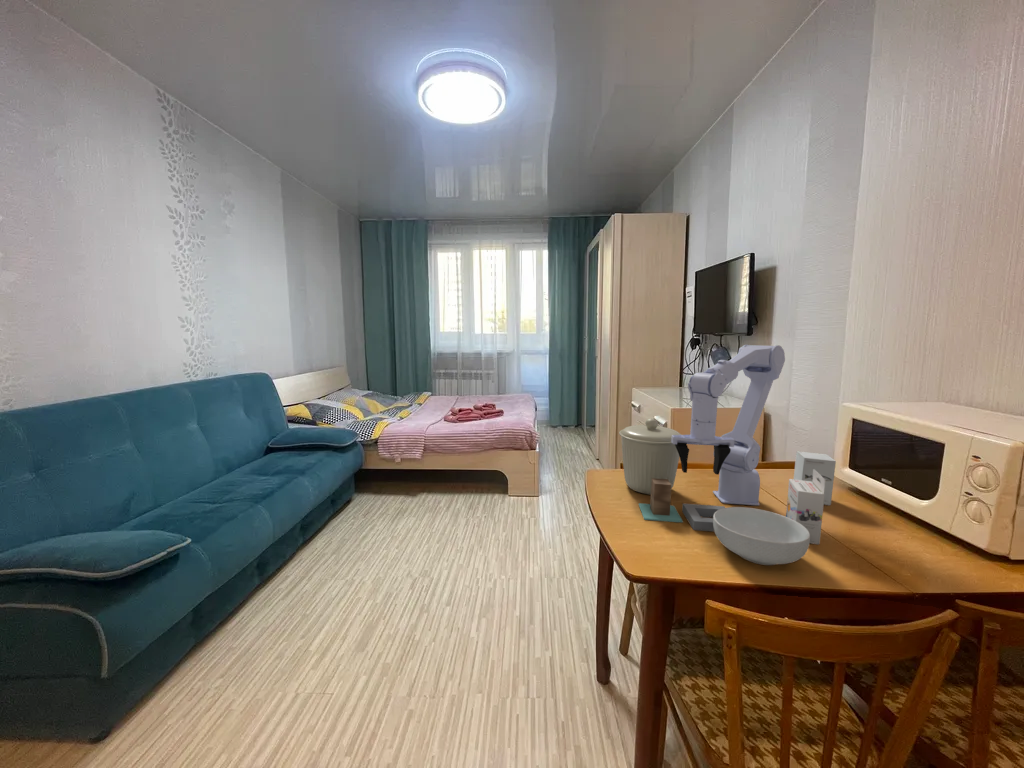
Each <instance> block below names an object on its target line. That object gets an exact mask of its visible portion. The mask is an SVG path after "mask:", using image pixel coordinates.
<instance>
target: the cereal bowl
mask: <svg viewBox="0 0 1024 768" xmlns="http://www.w3.org/2000/svg"><path fill="white" fill-rule="evenodd" d="M712 518H713V526H714V531H715V532H714V534H715V536H716V537H717V539H718V541H719V542H720V543H721V544H722V545H723V546H724V547H725V548H726V549H727V550H729V551H731V552H733V553H734V554H736V555H737V556H739V557H741V558H742V559H744V560H746V561H749V562H751V563H754V564H756V565H757V564H758V565H762V566H763V565H764V566H775V565H786V564H790V563H794V562H797V561H799V560H801V559H802V558H803V557H804V556H805V555H806V553H807V552H808V550H809V547H810V543H809V542H810V533H809V531H808V530H807V529H806V528H805V527H804V526H803V525H801V524H800V523H798V522H796V521H794V520H792V519H790V518H788V517H786V515H782V514H779V513H776V512H772V511H769V510H764V509H760V508H755V507H754V508H753V507H745V506H730V507H728V506H727V507H725V508H723V509H720V510H717V511H716V512H715V513H714V515H713V517H712Z"/></svg>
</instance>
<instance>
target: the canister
mask: <svg viewBox="0 0 1024 768" xmlns="http://www.w3.org/2000/svg"><path fill="white" fill-rule="evenodd" d="M644 422H645V424H638V425H637V424H635V425H630V426H629V425H628V426H626V427H624V428H623V429H620V431H619V433H618V434H619V436H620V437H621V451H622V452H621V453H622V464H623V466H622V467H623V473H624V474H623V475H624V481H625V484H626V485H627V487H629V489H631V490H633V491H635V492H637V493H640V494H645V495H651V482H652V478H656V479H668V480H669V482H670V483H671V490H672V489H673V487H674V485H675V480H676V476H677V472H678V466H679V461H680V457H679V454H678V451H677V449H676V446H675V444H672V442H671V437H672V435H682V434H681V433H680V431H679V432H678V431H677V430H675V429H673V428H670V427H666V426H660V425H659V422H658V420H657V419H655V418H648V419H646V421H644Z"/></svg>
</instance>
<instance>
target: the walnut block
mask: <svg viewBox="0 0 1024 768" xmlns="http://www.w3.org/2000/svg"><path fill="white" fill-rule="evenodd" d="M671 497H672V489H671V483H670V482H669V480H668V479H656V478H652V482H651V494H650V503H649V504H650V509H651V511H652V513H653V514H654V515H667V516H670V505H671Z"/></svg>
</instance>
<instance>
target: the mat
mask: <svg viewBox="0 0 1024 768" xmlns="http://www.w3.org/2000/svg"><path fill="white" fill-rule="evenodd" d="M638 506H639V509H640V511H641V515H642V518H643V520H645V521H657V522H670V523H671V522H672V523H681V524H682V523H684V521H683V519H682V517H681V516H680V514H679V511H678V510H677V509H676V506H675V505H671V504H670V516H667V515H654V514H653V513H652V511H651V509H650V503H640V502H639V503H638Z"/></svg>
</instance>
